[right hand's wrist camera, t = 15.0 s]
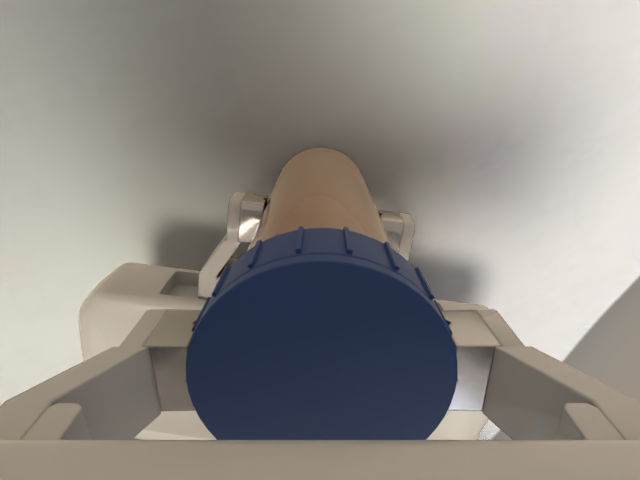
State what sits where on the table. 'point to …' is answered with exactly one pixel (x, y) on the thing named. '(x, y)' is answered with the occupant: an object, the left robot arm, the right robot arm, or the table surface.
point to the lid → (321, 344)
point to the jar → (320, 198)
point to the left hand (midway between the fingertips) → (322, 205)
